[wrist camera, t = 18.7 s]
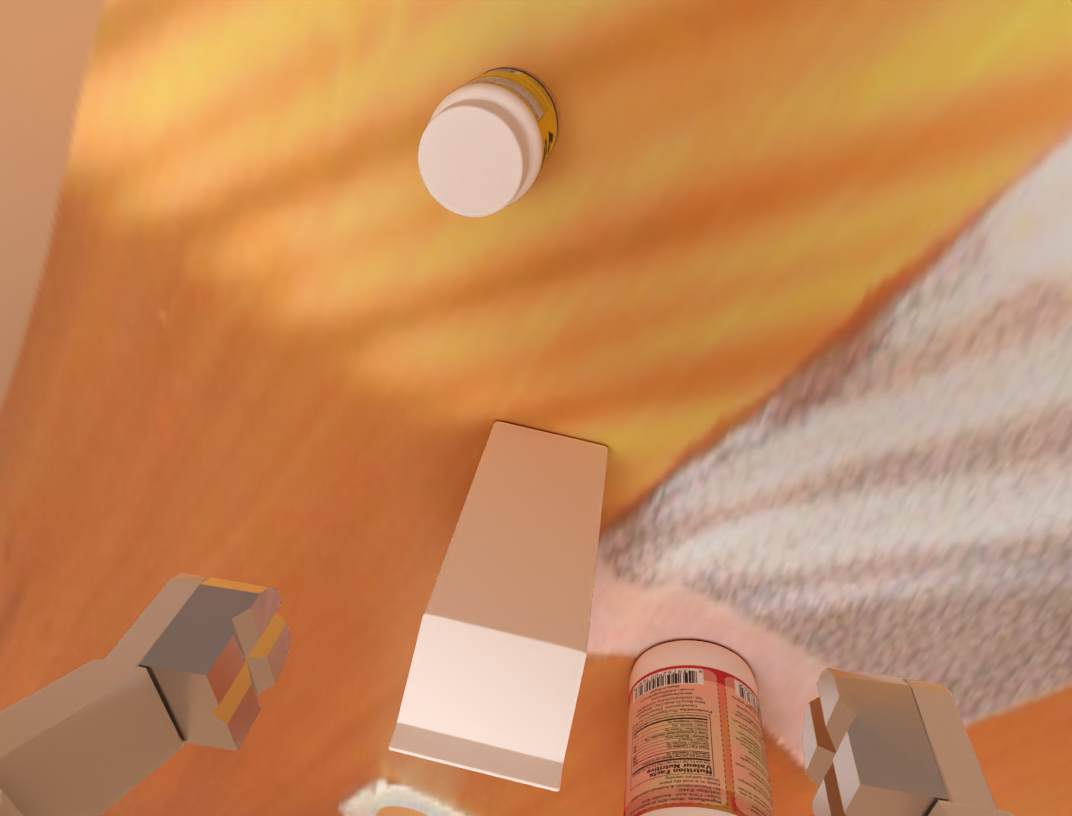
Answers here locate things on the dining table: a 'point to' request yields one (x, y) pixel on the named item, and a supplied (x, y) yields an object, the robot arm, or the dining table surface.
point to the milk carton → (510, 613)
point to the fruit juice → (694, 735)
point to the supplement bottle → (488, 142)
